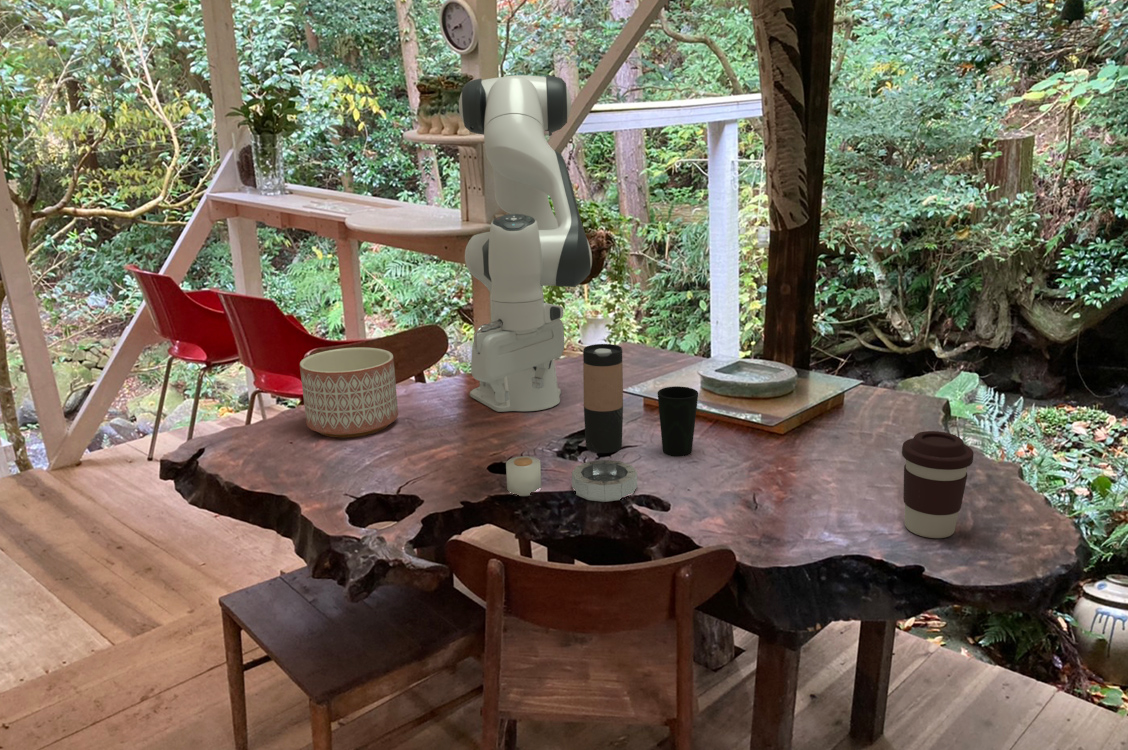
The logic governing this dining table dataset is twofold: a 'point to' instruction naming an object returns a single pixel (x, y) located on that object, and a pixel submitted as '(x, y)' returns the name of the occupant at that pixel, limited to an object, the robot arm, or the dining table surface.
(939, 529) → the coffee cup
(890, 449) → the dining table surface
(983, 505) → the dining table surface
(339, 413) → the planter
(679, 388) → the cup
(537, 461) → the jar
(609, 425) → the travel mug
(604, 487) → the stone fire pit ring
